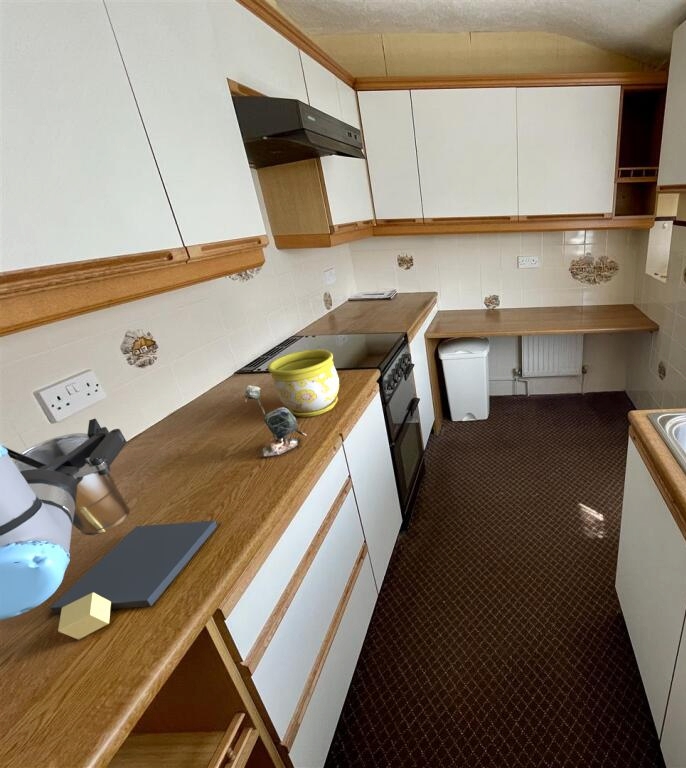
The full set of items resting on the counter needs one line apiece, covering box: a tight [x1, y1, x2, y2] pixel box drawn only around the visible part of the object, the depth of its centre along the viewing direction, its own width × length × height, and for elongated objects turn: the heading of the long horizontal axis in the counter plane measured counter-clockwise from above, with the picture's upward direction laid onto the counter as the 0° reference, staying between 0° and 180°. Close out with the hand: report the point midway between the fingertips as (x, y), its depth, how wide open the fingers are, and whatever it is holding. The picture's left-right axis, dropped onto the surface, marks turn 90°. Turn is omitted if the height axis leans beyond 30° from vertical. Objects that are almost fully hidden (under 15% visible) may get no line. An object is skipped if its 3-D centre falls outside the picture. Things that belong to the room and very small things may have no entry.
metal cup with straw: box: [1, 432, 130, 536], centre depth 61 cm, size 11×11×30 cm
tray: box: [49, 519, 218, 615], centre depth 75 cm, size 16×18×2 cm
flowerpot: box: [267, 349, 340, 418], centre depth 126 cm, size 18×18×16 cm
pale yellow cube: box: [57, 593, 111, 641], centre depth 64 cm, size 4×4×4 cm
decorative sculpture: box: [244, 384, 308, 457], centre depth 105 cm, size 8×11×20 cm
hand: (50, 439), depth 64 cm, fingers closed on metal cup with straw, 10 cm apart
